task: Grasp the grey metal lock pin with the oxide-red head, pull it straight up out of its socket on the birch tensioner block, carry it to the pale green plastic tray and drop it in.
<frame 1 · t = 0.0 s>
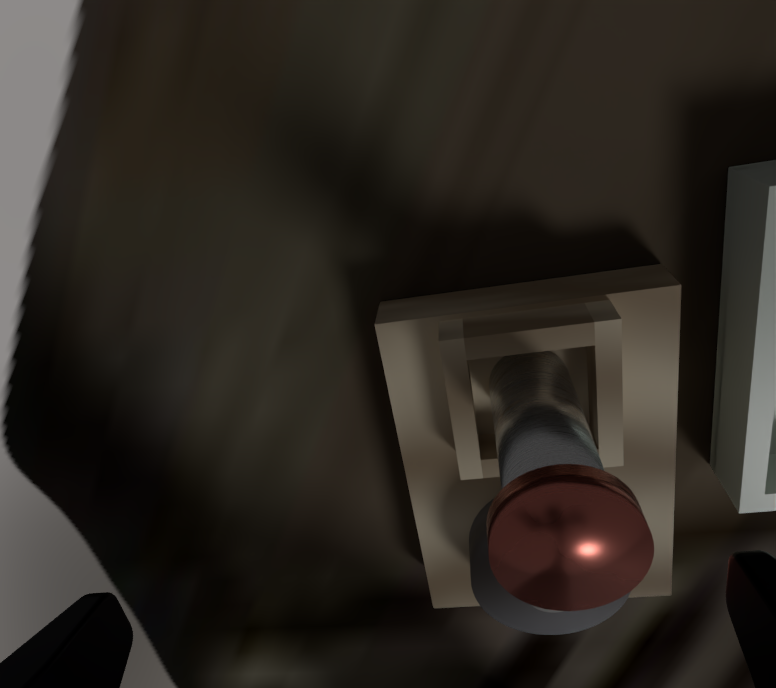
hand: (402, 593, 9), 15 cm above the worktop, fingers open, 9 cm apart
lock pin: (529, 382, 22), point 2 cm above the worktop, touching tensioner block
tensioner block: (530, 441, 25), on the worktop
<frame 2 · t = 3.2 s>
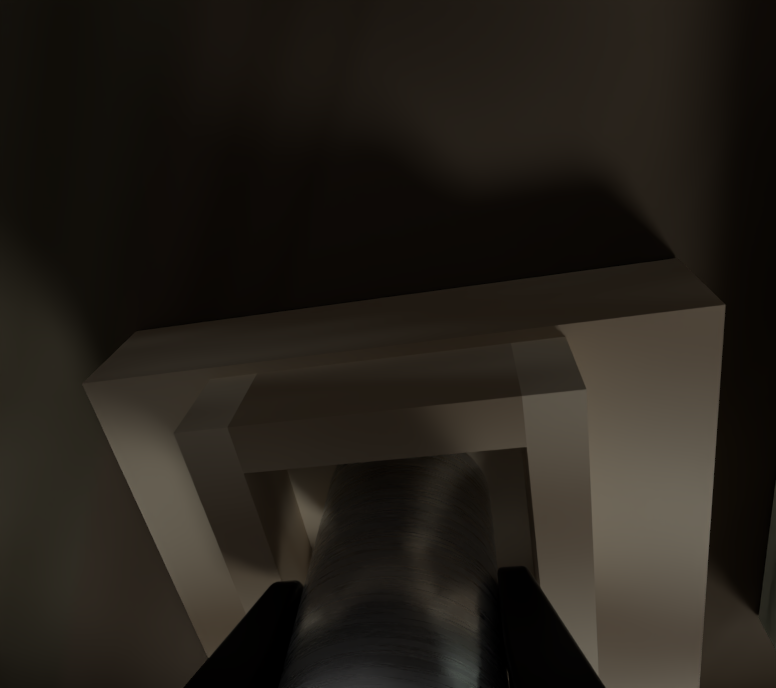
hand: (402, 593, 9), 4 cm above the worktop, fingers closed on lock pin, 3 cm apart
lock pin: (409, 499, 11), point 2 cm above the worktop, touching gripper, tensioner block
tensioner block: (441, 574, 14), on the worktop
when the fingers open (4 cm above the worktop, at t = 6.2 s): lock pin drops 1 cm, resting on tray.
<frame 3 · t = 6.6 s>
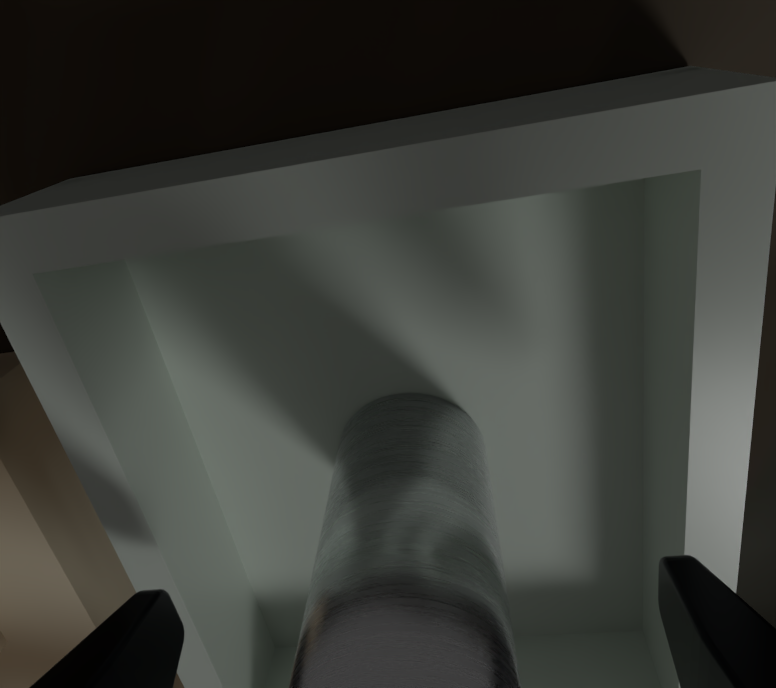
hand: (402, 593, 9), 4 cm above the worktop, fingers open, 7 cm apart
tray: (415, 438, 12), on the worktop
lock pin: (411, 455, 12), point 1 cm above the worktop, touching tray
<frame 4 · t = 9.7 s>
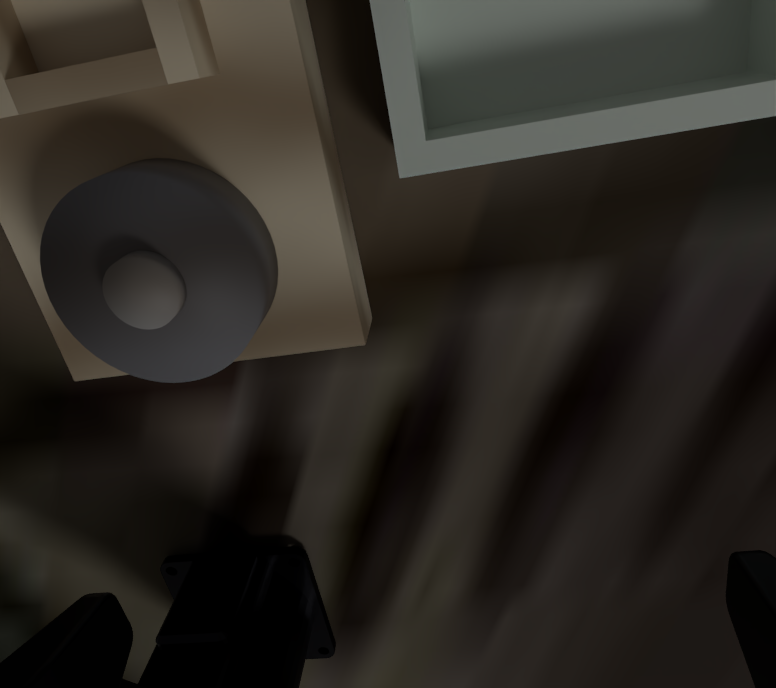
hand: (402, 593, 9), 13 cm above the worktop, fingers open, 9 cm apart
tensioner block: (166, 130, 18), on the worktop
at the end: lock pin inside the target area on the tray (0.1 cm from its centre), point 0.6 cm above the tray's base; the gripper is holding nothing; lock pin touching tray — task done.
